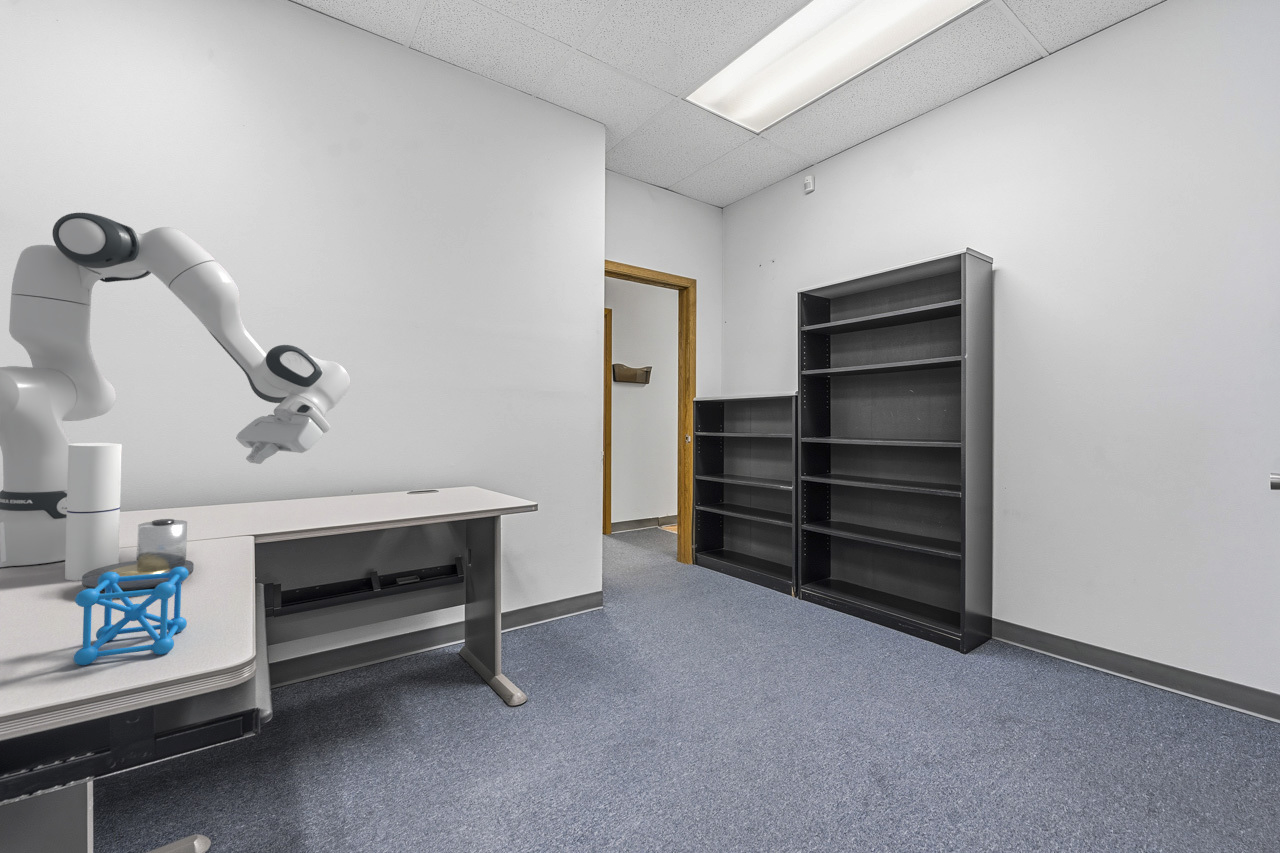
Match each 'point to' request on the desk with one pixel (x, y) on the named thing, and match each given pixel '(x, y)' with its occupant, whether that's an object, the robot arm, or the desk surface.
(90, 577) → the turntable platter
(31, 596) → the desk surface
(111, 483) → the cylindrical container
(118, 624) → the molecular structure
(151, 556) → the silver metal canister
